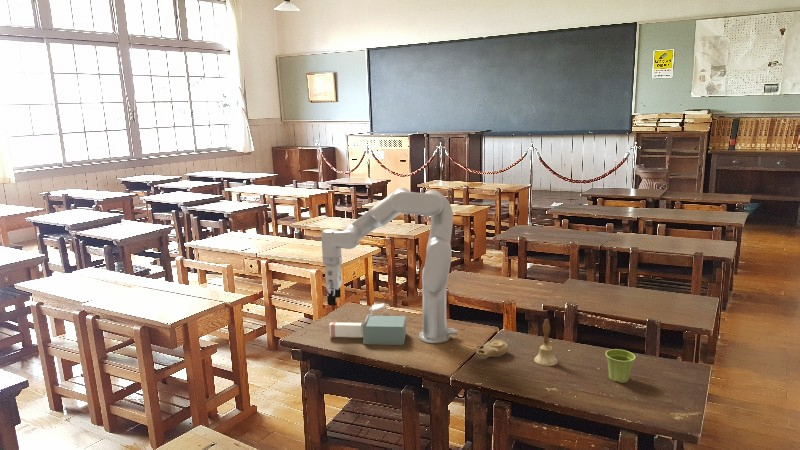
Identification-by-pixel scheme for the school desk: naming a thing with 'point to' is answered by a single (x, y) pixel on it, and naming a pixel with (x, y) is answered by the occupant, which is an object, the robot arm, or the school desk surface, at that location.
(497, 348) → the oil lamp
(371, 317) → the block
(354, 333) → the pink-banded cream bar
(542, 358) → the hand bell
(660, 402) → the school desk surface
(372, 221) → the robot arm
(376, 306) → the white scroll-footed stand
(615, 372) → the plant pot
